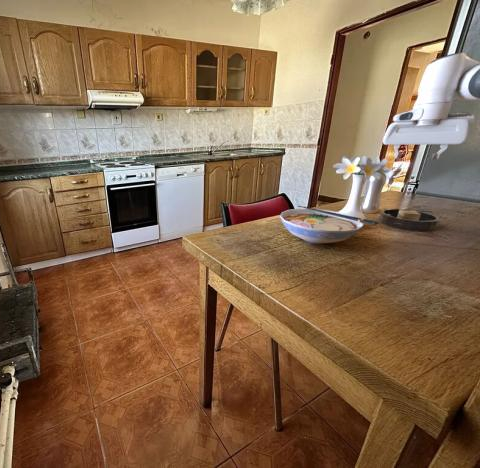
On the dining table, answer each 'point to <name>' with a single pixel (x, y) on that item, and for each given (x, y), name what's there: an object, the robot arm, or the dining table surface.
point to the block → (408, 215)
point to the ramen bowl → (321, 224)
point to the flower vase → (362, 179)
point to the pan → (424, 224)
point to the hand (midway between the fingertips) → (415, 158)
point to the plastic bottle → (372, 194)
